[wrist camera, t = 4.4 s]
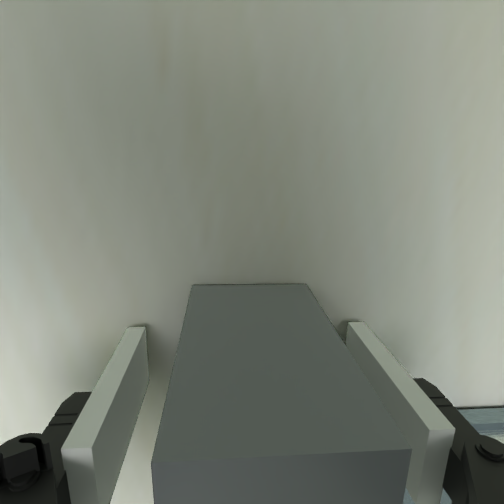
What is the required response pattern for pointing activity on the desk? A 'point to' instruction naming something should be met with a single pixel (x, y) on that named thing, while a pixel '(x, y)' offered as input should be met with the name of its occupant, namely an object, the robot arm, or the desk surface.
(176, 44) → the desk surface
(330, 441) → the block
